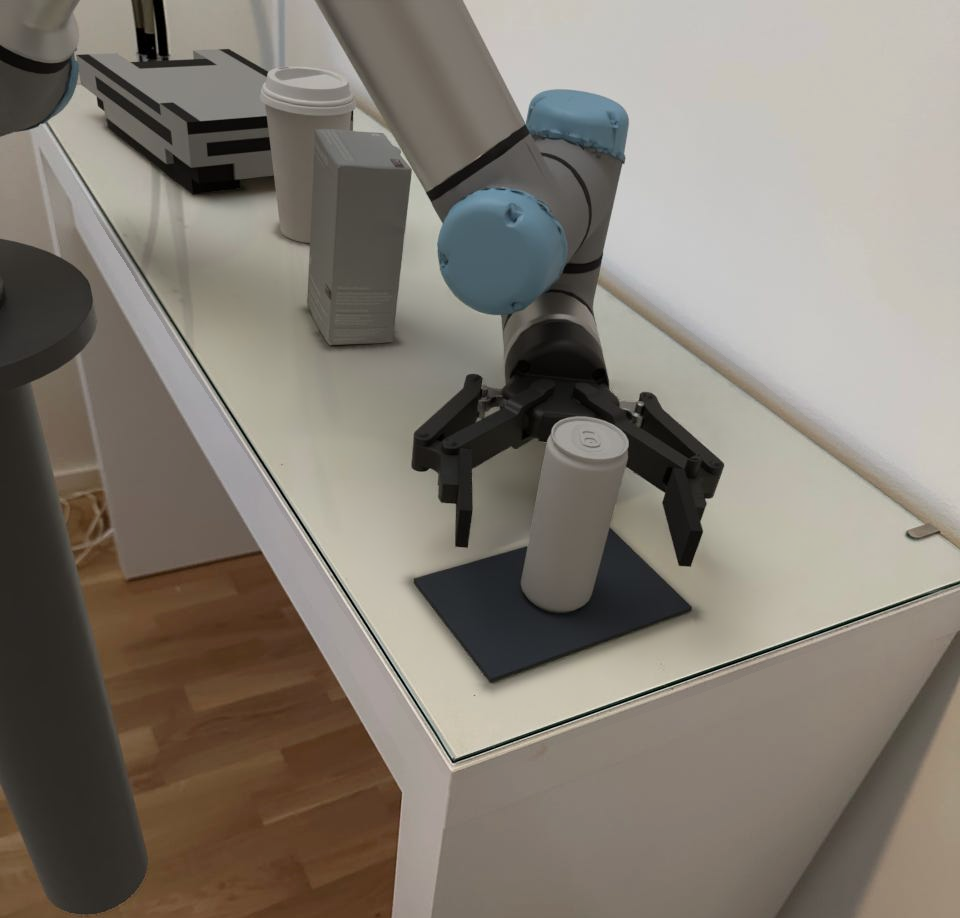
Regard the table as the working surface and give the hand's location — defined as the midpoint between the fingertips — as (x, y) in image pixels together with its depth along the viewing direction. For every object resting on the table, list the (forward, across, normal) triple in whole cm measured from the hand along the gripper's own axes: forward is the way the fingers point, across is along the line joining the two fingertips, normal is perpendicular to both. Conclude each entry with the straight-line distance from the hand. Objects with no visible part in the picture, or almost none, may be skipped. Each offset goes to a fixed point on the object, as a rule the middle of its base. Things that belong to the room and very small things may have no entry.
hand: (578, 539), depth 54 cm
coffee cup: (-62, +23, -8) cm, 66 cm away
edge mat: (-3, 0, -8) cm, 8 cm away
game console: (-85, +38, -8) cm, 94 cm away
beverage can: (-3, 0, -7) cm, 8 cm away
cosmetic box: (-40, +16, -8) cm, 44 cm away
